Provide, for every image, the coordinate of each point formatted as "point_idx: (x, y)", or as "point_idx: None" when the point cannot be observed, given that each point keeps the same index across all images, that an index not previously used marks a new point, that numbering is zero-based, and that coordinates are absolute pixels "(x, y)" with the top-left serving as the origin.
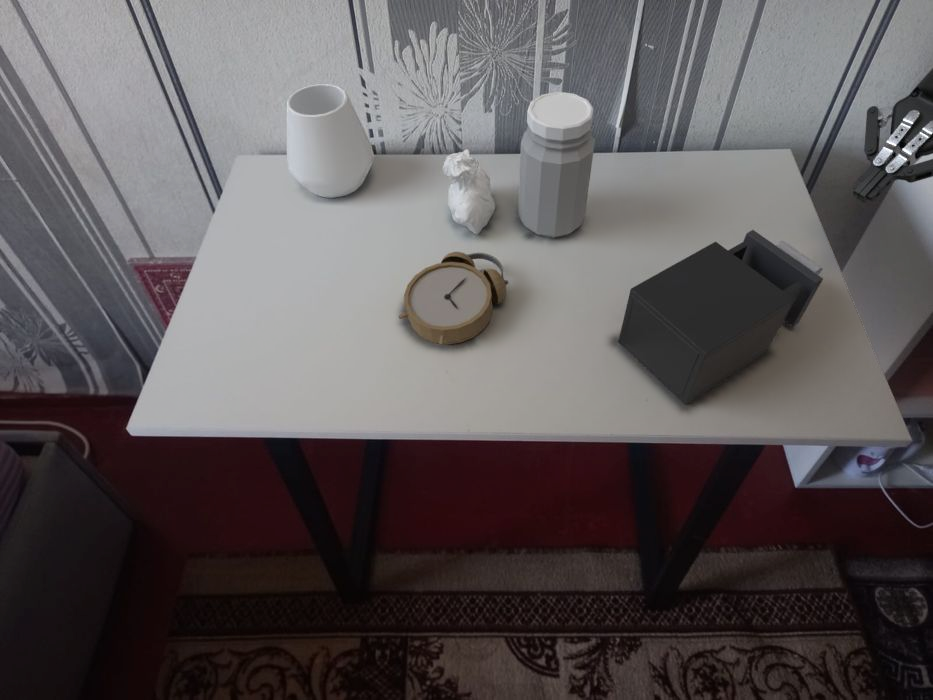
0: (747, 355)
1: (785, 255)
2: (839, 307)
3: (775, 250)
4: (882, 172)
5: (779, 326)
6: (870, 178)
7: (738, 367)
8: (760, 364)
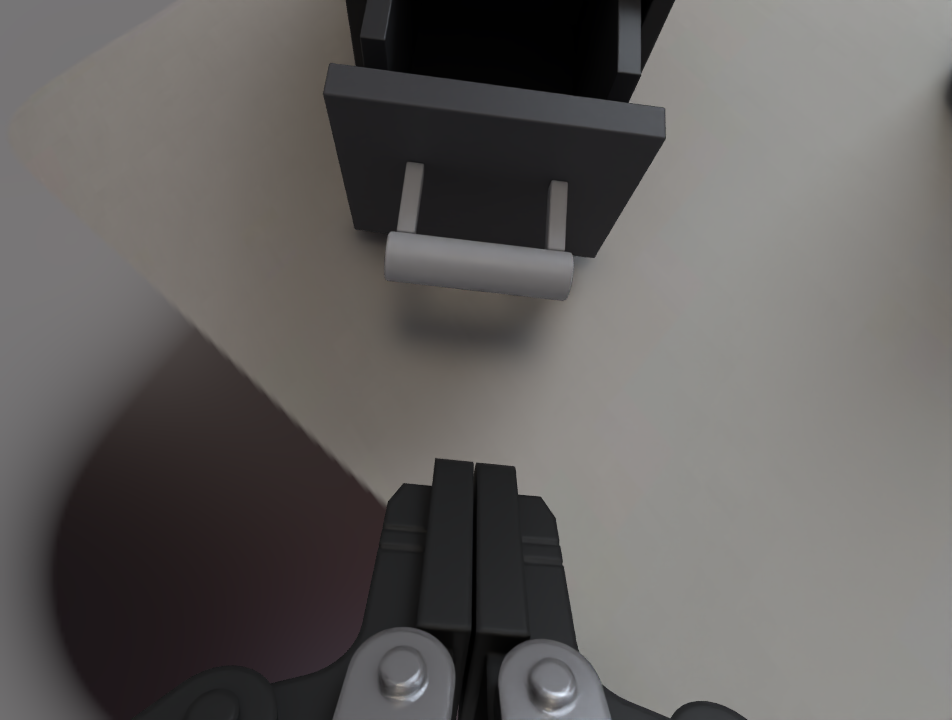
0: None
1: (493, 103)
2: (307, 396)
3: (534, 102)
4: (448, 621)
5: (351, 34)
6: (491, 553)
7: None
8: None
